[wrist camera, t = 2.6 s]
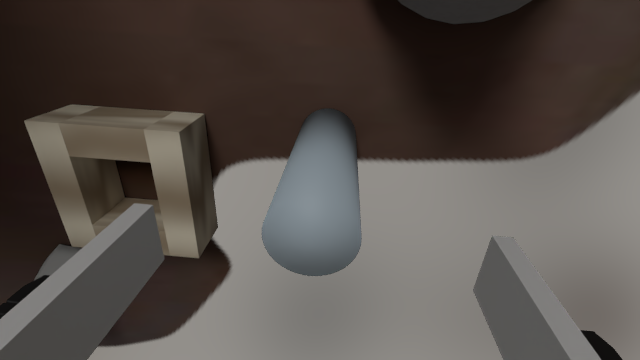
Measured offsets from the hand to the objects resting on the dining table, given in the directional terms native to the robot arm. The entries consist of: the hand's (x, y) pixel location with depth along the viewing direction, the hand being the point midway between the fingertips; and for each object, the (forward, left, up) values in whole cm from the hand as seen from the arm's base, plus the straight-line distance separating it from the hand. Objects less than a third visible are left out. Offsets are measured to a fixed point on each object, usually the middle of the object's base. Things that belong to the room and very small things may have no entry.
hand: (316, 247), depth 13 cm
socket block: (+4, -14, -12) cm, 19 cm away
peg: (0, 0, -12) cm, 12 cm away
